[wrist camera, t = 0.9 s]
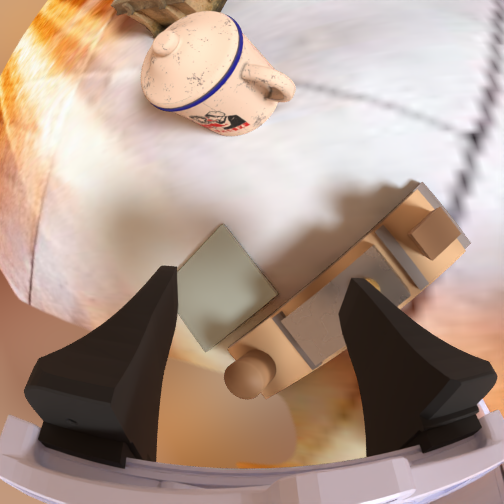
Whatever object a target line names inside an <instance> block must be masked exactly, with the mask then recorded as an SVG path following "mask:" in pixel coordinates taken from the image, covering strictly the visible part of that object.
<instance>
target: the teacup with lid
mask: <svg viewBox="0 0 504 504" xmlns="http://www.w3.org/2000/svg"><path fill="white" fill-rule="evenodd" d="M141 85H142V89H143V92H144V94H145V96H146V98H147V99H148V100H149V101H150V103H151V104H152V105H154V106H155V107H156V108H158V109H160V110H163V111H169V112H174V113H177V114H179V115H181V116H183V117H185V118H187V119H189V120H191V121H193V122H196V123H198V124H200V125H202V126H204V127H206V128H208V129H210V130H212V131H214V132H216V133H218V134H221V135H225V136H238V135H242V134H246V133H248V132H251V131H253V130H255V129H256V128H258V127H259V126H261V125H262V124H263V123H264V122H265V121H266V120H267V119H268V118H269V117H270V116H271V115H272V113H273V112H274V110H275V108H276V106H277V104H278V102H288V101H290V100H291V99H292V98H293V96H294V93H295V90H296V89H295V85H294V83H293V81H292V80H291V79H290V78H289V77H288V76H286V75H285V74H283V73H281V72H279V71H277V70H275V69H274V68H273V67H272V66H271V64H270V63H269V62H268V61H267V60H266V59H265V57H264V56H263V55H262V54H261V53H260V52H259V51H258V49H257V48H256V47H255V46H254V45H253V44H252V43H251V42H250V41H249V39H248V38H247V37H246V36H245V35H244V34H243V33H242V31H241V28H240V26H239V25H238V23H237V22H236V21H235V20H234V19H233V18H231V17H230V16H228V15H225V14H223V13H220V12H215V11H201V12H196V13H193V14H190V15H187V16H185V17H183V18H181V19H179V20H178V21H176V22H174V23H173V24H172V25H170V26H169V27H168V28H167V29H166V30H164V31H163V32H161V33H160V34H159V35H158V36H157V37H156V38H155V39H154V41H153V44H152V46H151V48H150V49H149V51H148V53H147V55H146V57H145V60H144V63H143V66H142V71H141Z"/></svg>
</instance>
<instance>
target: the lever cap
mask: <svg viewBox="0 0 504 504" xmlns="http://www.w3.org/2000/svg"><path fill="white" fill-rule="evenodd" d="M351 278H364V279H366V280H367V281H368V282H369V283H371V284H372V285H373V286H374V287H375V288H376V289H378V290H379V291H380V292H381V293H382V294H383V295H384V296H385V297H386V298H388V299H389V300H390V301H391V302H392V303H393V304H394V305H395V306H397V307H398V306H399V305H400V304H401V303H403V302H404V301H405V300H406V299H407V298H409V297H410V296H411V294H410V291H409V288H408V287H407V286H406V284H405V283H404V282H403V280H402V279H401V278H400V276H399V275H398V274H397V272H396V271H395V270H394V269H393V267H392V266H391V265H390V264H389V262H388V261H387V260H386V258H385V257H384V256H383V255H382V253H381V252H380V251H379V250H378V248H377V247H376V246H375V245H373V246H371V247H370V248H369V249H368V250H367V251H366V252H365V253H363V254H362V255H361V256H360V257H359V258H358V259H357V260H355V261H354V262H353V263H352V264H351V265H350V266H348V267H347V268H346V269H345V270H344V271H342V272H341V273H340V274H339V275H338V276H337V277H335V278H334V279H333V280H332V281H330V282H329V283H328V284H327V285H326V286H324V287H323V288H322V289H321V290H320V291H318V292H317V293H316V294H315V295H313V296H312V297H311V298H310V299H308V300H307V301H306V302H305V303H303V304H302V305H301V306H300V307H298V308H297V309H296V310H295V311H293V312H292V313H291V314H289V315H288V316H287V317H286V318H284V319H283V320H282V321H281V322H282V324H283V325H284V326H285V327H286V329H287V330H288V331H289V333H290V334H291V335H292V336H293V338H294V339H295V340H296V341H297V343H298V344H299V345H300V347H301V348H302V349H303V350H304V352H305V353H306V354H307V355H308V357H309V358H310V359H311V361H312V362H313V363H314V364H315V366H316V365H317V364H319V363H320V362H322V361H323V360H325V359H326V358H328V357H329V356H331V355H332V354H334V353H335V352H337V351H338V350H340V349H341V348H343V347H344V346H346V344H345V341H344V338H343V335H342V330H341V326H340V320H339V315H338V313H339V310H340V308H341V305H342V302H343V300H344V297H345V294H346V291H347V288H348V286H349V283H350V280H351Z"/></svg>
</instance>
